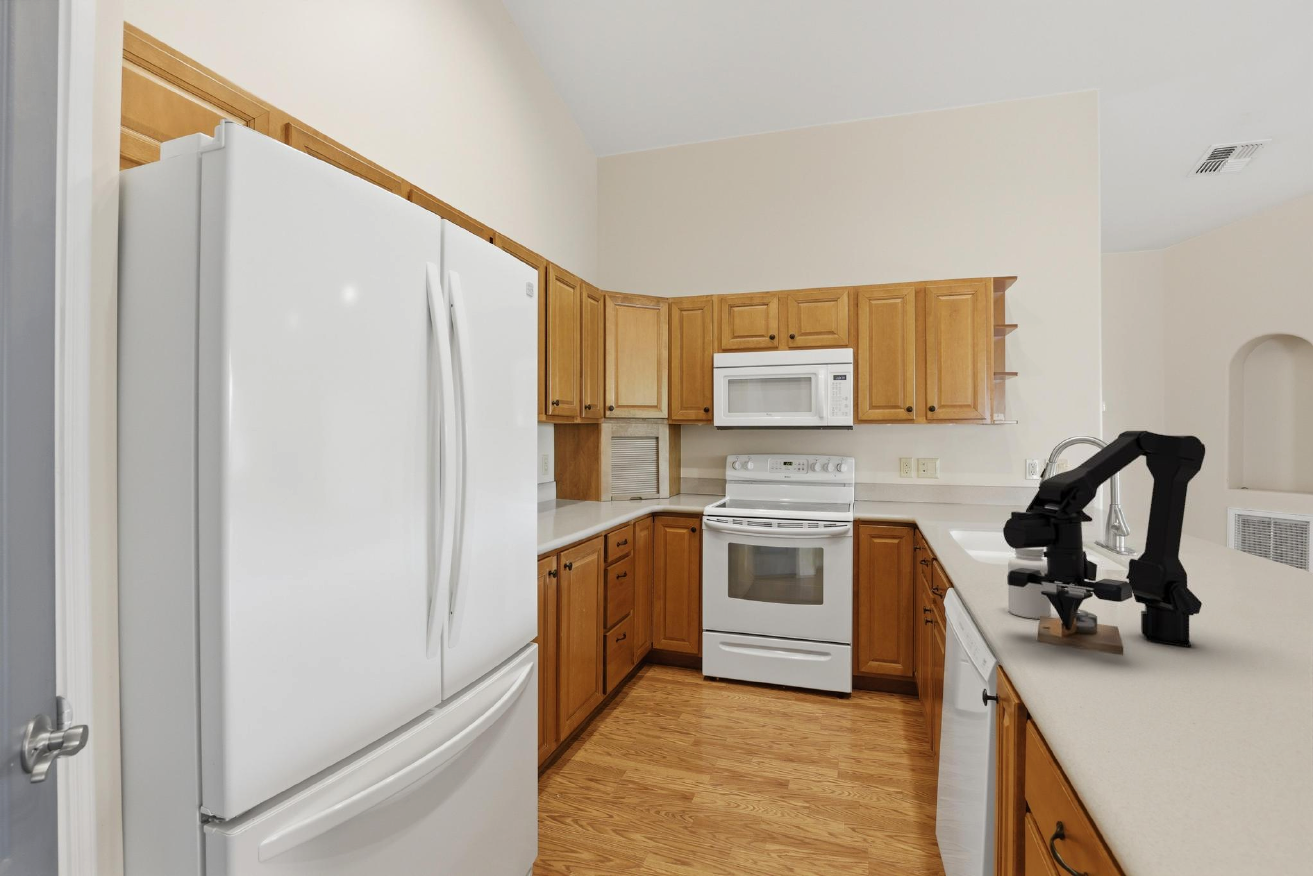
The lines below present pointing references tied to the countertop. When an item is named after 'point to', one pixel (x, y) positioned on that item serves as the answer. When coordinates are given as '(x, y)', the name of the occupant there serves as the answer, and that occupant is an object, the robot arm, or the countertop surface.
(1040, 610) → the pill bottle
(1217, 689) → the countertop surface
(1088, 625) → the metal and wood piece
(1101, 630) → the base plate
